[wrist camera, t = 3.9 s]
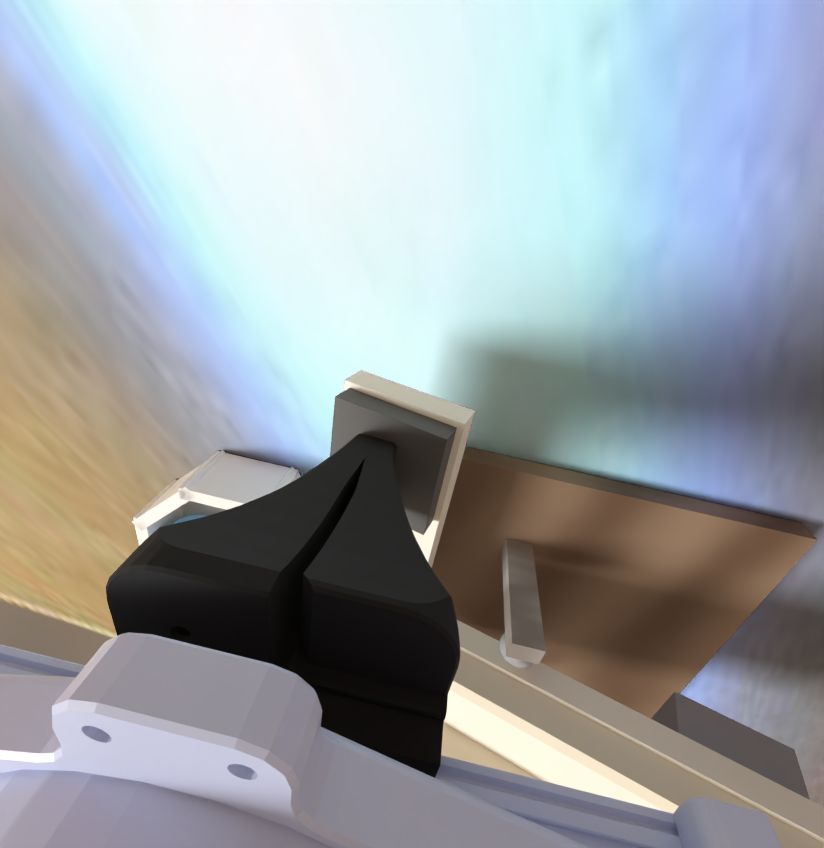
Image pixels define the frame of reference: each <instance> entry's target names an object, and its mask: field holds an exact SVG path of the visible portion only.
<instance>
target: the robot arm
mask: <svg viewBox="0 0 824 848" xmlns="http://www.w3.org/2000/svg"><path fill="white" fill-rule="evenodd" d="M396 451H397V446H396V445H395V443H393V442H390V441H387V440H383V439H380V438H377V437H373V436H369V435H364V434H358V435H356V436H355V437H354V438H353V439H351V440H350V441H349V442H348V443H347V444H346V445H344V446H343V447H342V448H341V449H339V450H338V451H337V452H336V453H334V454H333V455H332V456H330V457H329V458H328V459H326V460H325V461H324V462H322V463H321V464H319V465H318V466H316V467H315V468H313V469H312V470H310V471H309V472H307V473H306V474H304V475H303V476H301V477H299V478H298V479H296V480H294V481H293V482H291V483H289V484H287V485H285V486H284V487H282V488H280V489H278V490H276V491H274V492H272V493H269V494H267V495H264V496H262V497H260V498H257V499H255V500H252V501H250V502H248V503H245V504H243V505H240V506H237V507H234V508H231V509H228V510H225V511H222V512H218V513H215V514H212V515H208V516H205V517H201V518H197V519H193V520H189V521H184V522H180V523H176V524H171V525H167V526H162V527H159V528H158V529H157V530H156V531H155V532H154V533H152V534H151V535H150V536H149V537H148V538H147V539H146V540H145V541H144V542H143V543H142V544H141V545H140V546H139V547H138V548H137V549H136V550H135V551H134V552H133V553H132V554H131V555H130V556H129V557H128V558H127V560H126V561H125V562H124V563H123V564H122V565H121V566H120V567H119V568H118V569H117V570H116V571H115V572H114V573H113V574H112V575H111V576H110V577H109V580H108V583H107V586H106V594H107V601H108V605H109V609H110V612H111V615H112V619H113V622H114V626H115V629H116V632H117V636H116V637H114V638H112V639H110V640H108V641H106V642H105V643H104V644H103V645H102V646H101V648H100V649H99V650H98V651H97V652H96V654H95V655H94V656H93V657H92V658H91V660H90V661H89V662H88V663H87V664H86V666H84V665H81V664H77V663H73V662H69V661H65V660H60V659H57V658H53V657H49V656H45V655H41V654H37V653H33V652H29V651H25V650H21V649H17V648H13V647H9V646H5V645H1V644H0V848H782V846H781V844H780V842H779V840H778V837H777V835H776V833H775V831H774V829H773V826H772V824H771V822H770V820H769V818H768V816H767V815H766V814H764V813H763V812H761V811H757V810H753V809H749V808H745V807H741V806H737V805H733V804H729V803H725V802H721V801H717V800H713V799H708V798H691V799H688V800H686V801H684V802H683V803H682V804H680V805H679V807H678V808H677V809H676V811H675V812H674V814H673V813H669V812H665V811H661V810H657V809H653V808H649V807H645V806H641V805H637V804H633V803H629V802H625V801H621V800H617V799H613V798H609V797H605V796H601V795H597V794H593V793H589V792H585V791H581V790H577V789H573V788H569V787H565V786H561V785H557V784H553V783H549V782H545V781H542V780H538V779H534V778H530V777H526V776H522V775H518V774H514V773H510V772H506V771H502V770H498V769H494V768H490V767H486V766H482V765H478V764H474V763H470V762H466V761H462V760H458V759H454V758H450V757H446V756H442V755H441V751H442V737H443V723H444V720H445V717H446V713H447V700H448V693H449V690H450V687H451V685H452V682H453V680H454V677H455V674H456V672H457V669H458V667H459V661H460V639H459V630H458V624H457V619H456V614H455V609H454V605H453V600H452V597H451V596H450V595H449V593H448V592H447V591H446V589H445V588H444V586H443V585H442V584H441V582H440V581H439V579H438V578H437V576H436V575H435V573H434V571H433V570H432V568H431V567H430V565H429V563H428V562H427V560H426V558H425V556H424V554H423V552H422V550H421V548H420V546H419V544H418V542H417V540H416V538H415V536H414V534H413V531H412V529H411V526H410V524H409V521H408V518H407V515H406V512H405V509H404V506H403V502H402V498H401V494H400V490H399V485H398V478H397V472H396Z"/></svg>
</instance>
